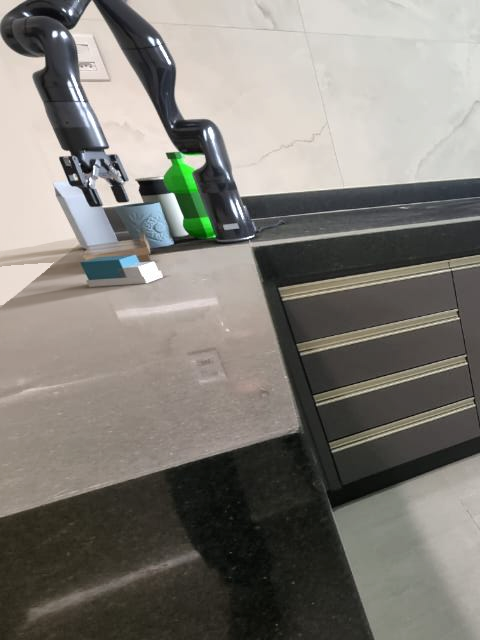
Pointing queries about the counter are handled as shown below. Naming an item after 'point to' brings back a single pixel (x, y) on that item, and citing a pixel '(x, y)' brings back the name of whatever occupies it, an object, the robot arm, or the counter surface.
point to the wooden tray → (121, 249)
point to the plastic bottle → (187, 197)
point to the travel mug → (163, 202)
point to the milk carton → (84, 216)
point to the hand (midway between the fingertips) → (110, 204)
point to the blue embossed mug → (146, 222)
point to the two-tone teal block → (119, 271)
